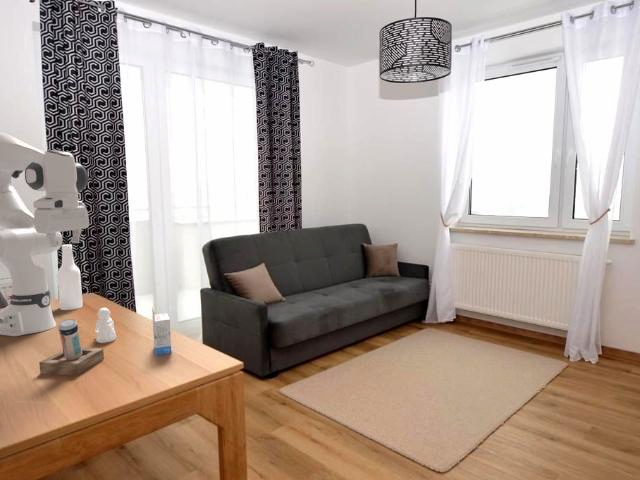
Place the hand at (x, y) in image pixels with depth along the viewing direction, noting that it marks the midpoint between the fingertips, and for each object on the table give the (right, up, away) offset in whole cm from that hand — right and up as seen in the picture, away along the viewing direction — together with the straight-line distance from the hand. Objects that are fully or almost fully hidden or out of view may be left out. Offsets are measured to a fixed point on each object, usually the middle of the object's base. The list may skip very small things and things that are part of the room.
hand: (65, 244), depth 138 cm
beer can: (+8, -34, -8) cm, 36 cm away
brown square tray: (+8, -38, -8) cm, 39 cm away
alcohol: (-29, -31, +53) cm, 68 cm away
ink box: (+30, -36, +4) cm, 47 cm away
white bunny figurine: (+7, -35, +13) cm, 38 cm away
